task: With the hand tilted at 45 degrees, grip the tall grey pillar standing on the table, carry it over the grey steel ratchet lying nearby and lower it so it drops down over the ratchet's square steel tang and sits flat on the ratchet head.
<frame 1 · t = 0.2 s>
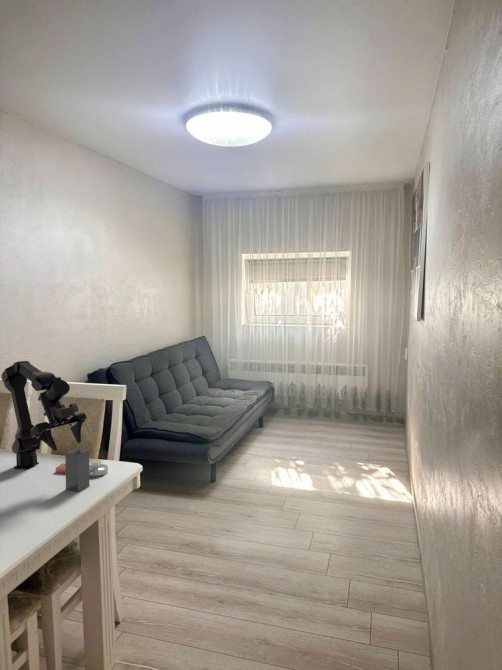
hand: (68, 446, 151), 14 cm above the table, fingers open, 9 cm apart
tall grey pillar: (77, 487, 151), on the table
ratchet: (96, 473, 164), on the table
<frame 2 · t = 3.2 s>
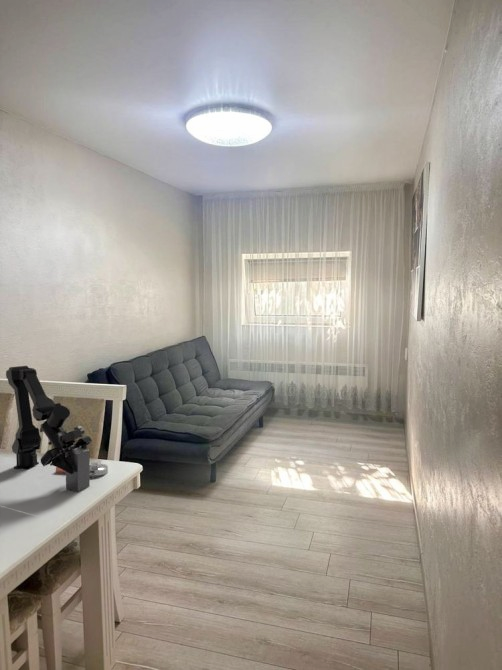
hand: (80, 469, 150), 7 cm above the table, fingers open, 7 cm apart
tall grey pillar: (77, 487, 151), on the table, touching gripper
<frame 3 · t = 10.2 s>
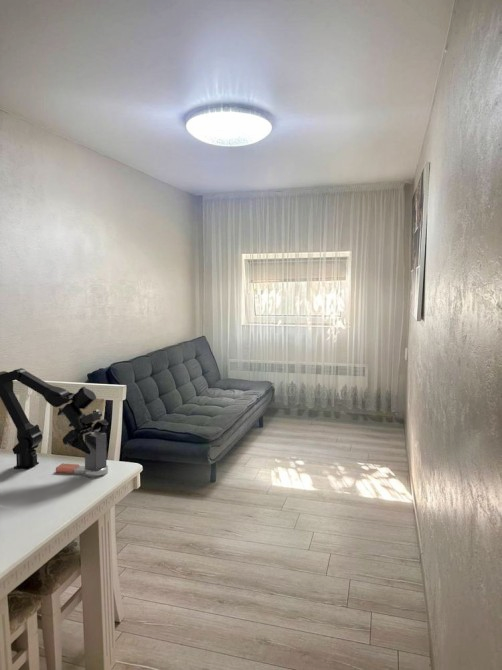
hand: (98, 449, 163), 9 cm above the table, fingers open, 9 cm apart
tall grey pillar: (95, 467, 164), point 2 cm above the table, touching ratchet
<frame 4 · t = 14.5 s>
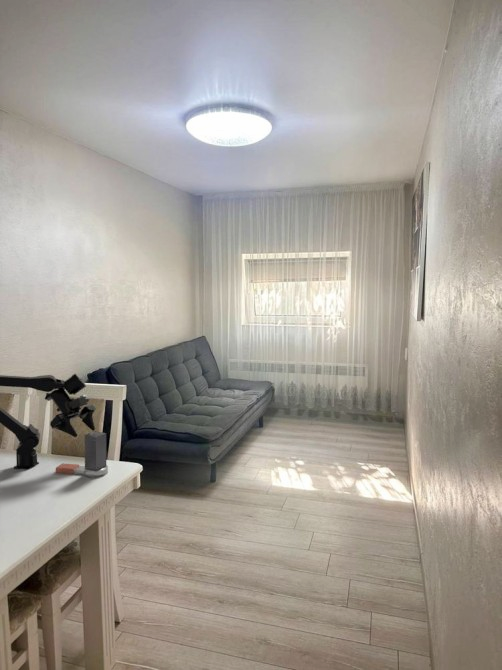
hand: (85, 433, 169), 14 cm above the table, fingers open, 9 cm apart
nothing on the table moved.
at the end: tall grey pillar 0.2 cm from the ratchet (horizontally); tall grey pillar point 2.0 cm above the table; tall grey pillar tilted 0° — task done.
